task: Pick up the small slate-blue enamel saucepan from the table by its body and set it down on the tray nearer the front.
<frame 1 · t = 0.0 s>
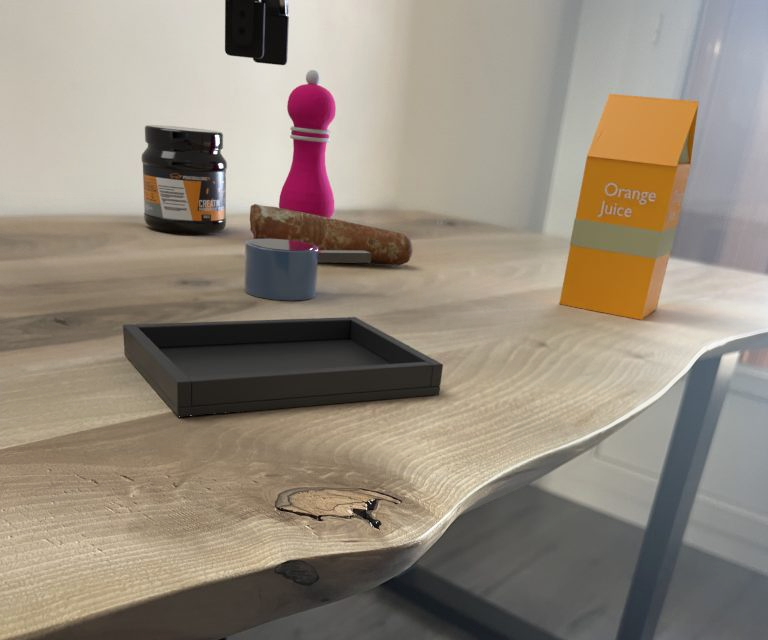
hand: (257, 60, 73), 19 cm above the table, tool pointing down, fingers open, 9 cm apart
tray: (280, 374, 55), on the table
pepper mill: (304, 241, 108), on the table
supplement container: (185, 230, 107), on the table
orange juice: (608, 308, 87), on the table
brown elongated bar: (330, 262, 96), on the table
pan: (280, 292, 78), on the table
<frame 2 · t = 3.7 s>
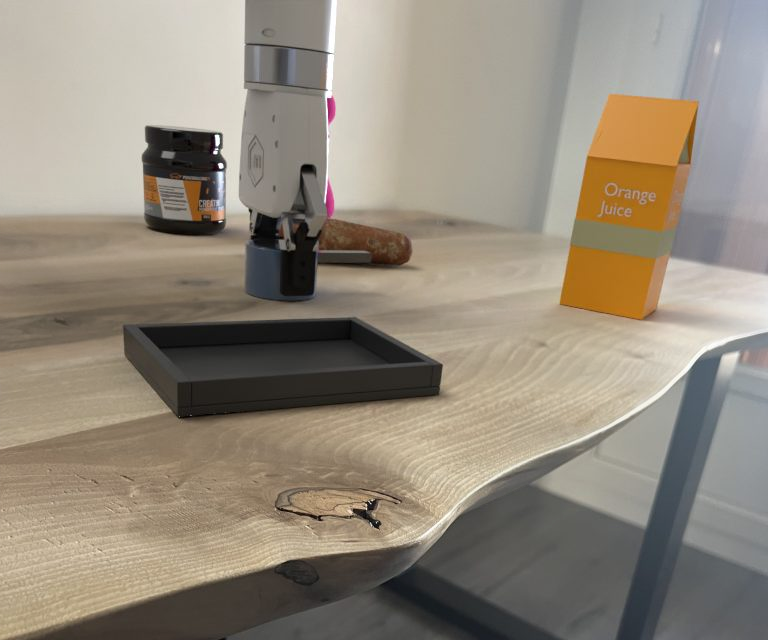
hand: (280, 284, 78), 1 cm above the table, tool pointing down, fingers closed on pan, 6 cm apart
pan: (280, 292, 78), on the table, touching gripper
everything else where it was.
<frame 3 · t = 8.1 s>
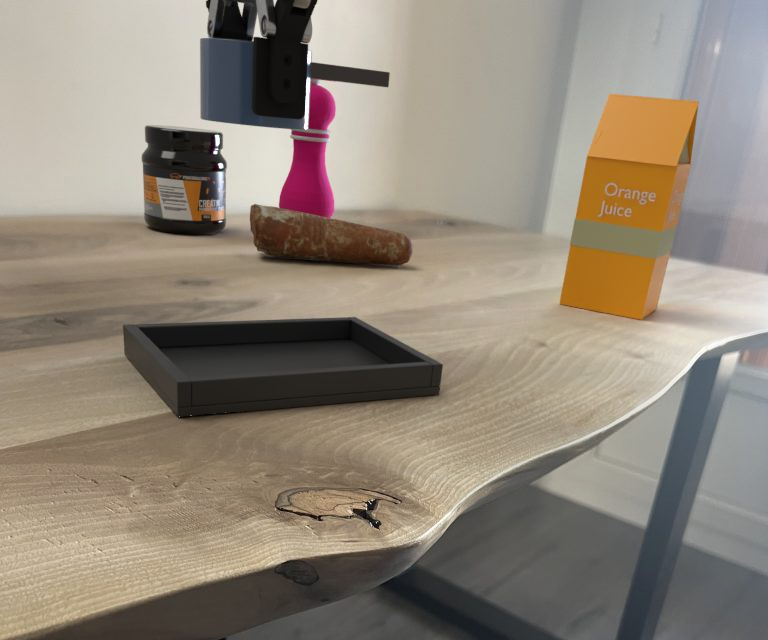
hand: (254, 110, 52), 16 cm above the table, tool pointing down, fingers closed on pan, 6 cm apart
pan: (254, 124, 52), point 15 cm above the table, touching gripper
everything else where it was.
when the fingers open (1 cm above the table, at t = 12.4 s): pan stays where it is, resting on tray.
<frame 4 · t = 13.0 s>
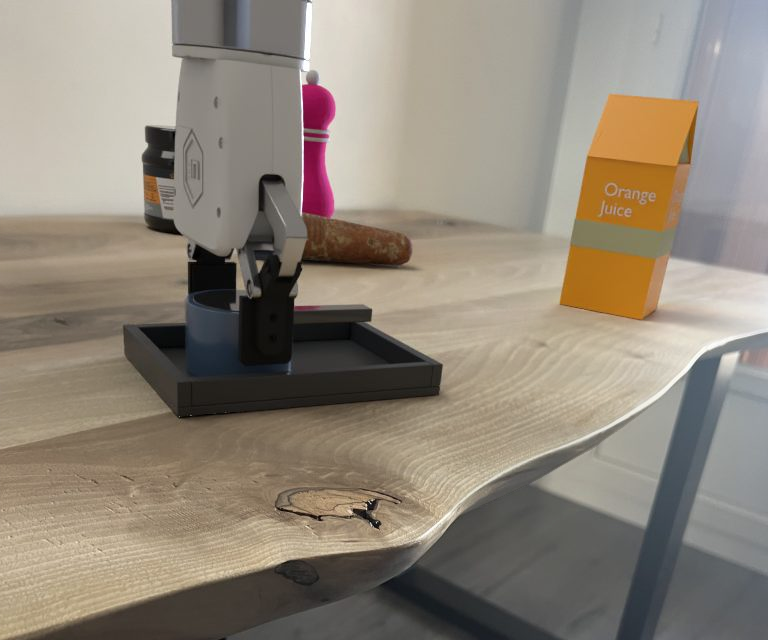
hand: (236, 341, 52), 2 cm above the table, tool pointing down, fingers open, 9 cm apart
pan: (239, 368, 53), point 1 cm above the table, touching tray
everything else where it was.
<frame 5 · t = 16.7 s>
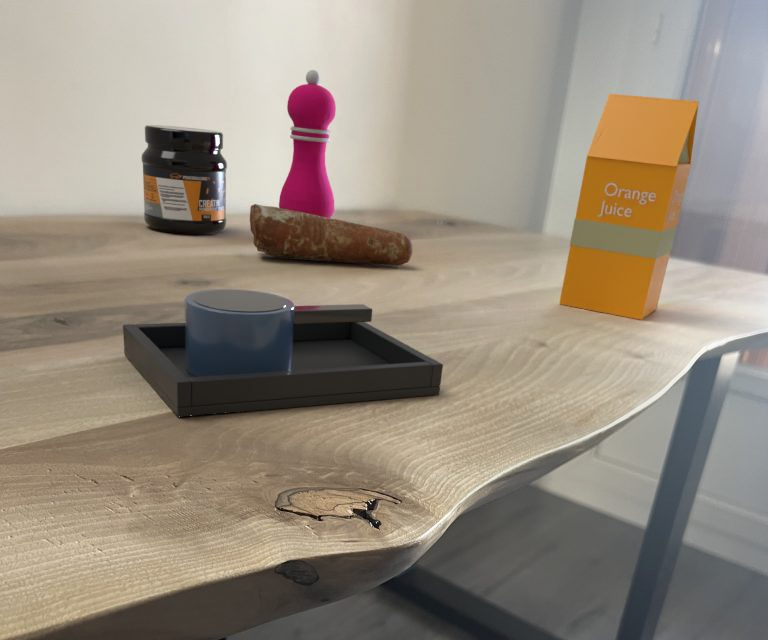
nothing on the table moved.
at the end: pan 0.1 cm from the target spot in the tray, point 0.6 cm above the tray's base; pan tilted 0°; the gripper is holding nothing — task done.
